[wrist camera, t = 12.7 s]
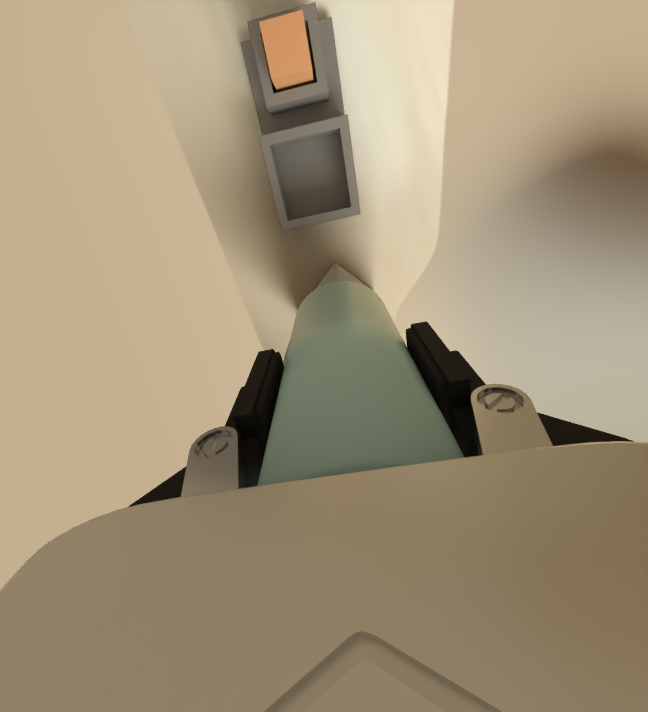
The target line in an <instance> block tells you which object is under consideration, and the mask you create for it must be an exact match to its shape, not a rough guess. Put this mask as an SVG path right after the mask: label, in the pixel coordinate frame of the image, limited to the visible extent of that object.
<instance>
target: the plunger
mask: <svg viewBox="0 0 648 712" xmlns="http://www.w3.org/2000/svg"><path fill="white" fill-rule="evenodd" d="M259 24H260V29H261V33H262V38H263V43H264V47H265V52H266V57H267V61H268V66H269V71H270V75H271V79H272V81H273V83H274V86H275V88H276V90H277V92H282V91H286V90H290V89H294V88H297V87H301V86H305V85H309V84H313V83H314V82H313V72H312V64H311V58H310V52H309V46H308V40H307V34H306V28H305V22H304V16H303V10H299V11H295V12H292V13H288V14H285V15H281V16H278V17H274V18H271V19H267V20H264V21H260V22H259Z"/></svg>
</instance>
